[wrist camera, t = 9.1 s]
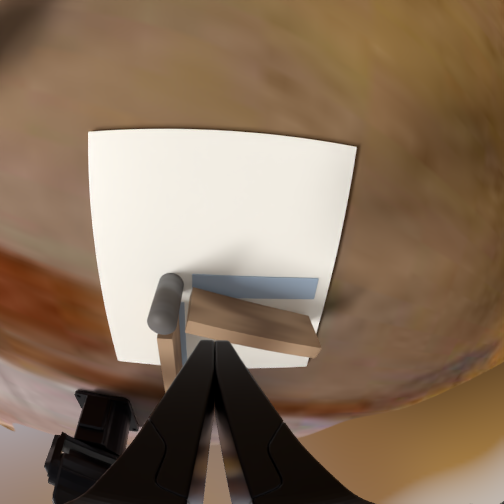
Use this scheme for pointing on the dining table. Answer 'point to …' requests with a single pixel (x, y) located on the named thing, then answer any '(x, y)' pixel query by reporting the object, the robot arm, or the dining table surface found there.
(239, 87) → the dining table surface
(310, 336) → the fold panel
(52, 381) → the dining table surface
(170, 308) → the fixed panel
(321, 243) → the card
